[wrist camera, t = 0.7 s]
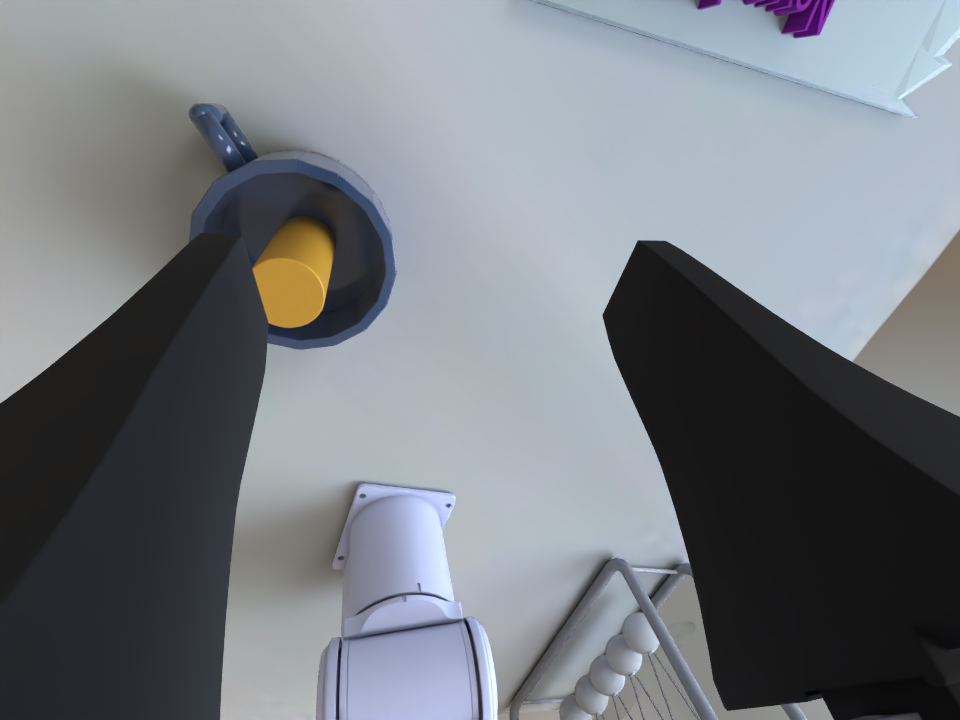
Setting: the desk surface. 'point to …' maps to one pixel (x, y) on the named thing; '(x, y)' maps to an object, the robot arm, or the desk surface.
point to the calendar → (803, 38)
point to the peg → (295, 272)
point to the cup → (300, 192)
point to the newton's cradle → (624, 653)
